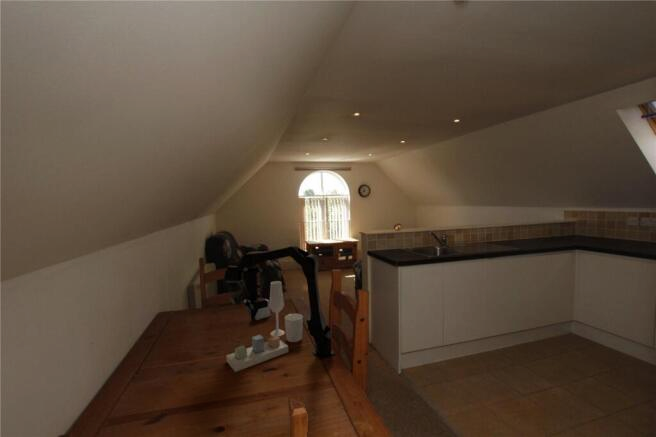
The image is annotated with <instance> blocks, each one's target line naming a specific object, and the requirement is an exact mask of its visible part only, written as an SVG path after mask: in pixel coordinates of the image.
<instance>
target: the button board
mask: <svg viewBox="0 0 656 437" xmlns="http://www.w3.org/2000/svg"><path fill="white" fill-rule="evenodd" d="M246 349H247V357H246V358H243V359H241V360H237V359H236V358H235V352H233V353H229V354H226V362H227V364H228V365H229V367H231V369H232V370H233V371H234V373H236V372H239V371H242V370H245V369H246V368H250V367H252V366H255V365H257V364H260V363H263V362H265V361H268V360H271V359H273V358H277V357H278V356H282V355H284V354H286V353H289V345H288V344H286V343H285V342H284V341H282V340H281V339H280V346H277V347H274V348H271V347H270V346H269V345H268V341H266V342H265V341H264V350H263V351H260V352H257V353H256V352H254V351H253V350H252V346H251V347H247V348H246Z"/></svg>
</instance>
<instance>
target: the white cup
mask: <svg viewBox="0 0 656 437" xmlns="http://www.w3.org/2000/svg"><path fill="white" fill-rule="evenodd" d="M303 318H304V317H303V315H302V314H300V313H288V314H287V315H284V323H285V324H284V325H285V327H284V328H285V335H286V341H287V342H290V343H297V342H299V341H301V340H302V339H303Z"/></svg>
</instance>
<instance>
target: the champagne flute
mask: <svg viewBox="0 0 656 437" xmlns="http://www.w3.org/2000/svg"><path fill="white" fill-rule="evenodd" d="M269 290H270V291H269V292H270V293H269V301H270V304H269V307H270V311H272V312H273V313H274V314H275V329H274V330H273V331H271V332H270V336H274V335H276V336H278V337H281V336H283V335H285V334H286V331H284V330H282V329H280V328H279V313H281V311H282V310H283V309H284V307H285V302H284V295H283V286H282V281H280V280H275V281H271V282H270V289H269Z"/></svg>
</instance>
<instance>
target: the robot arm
mask: <svg viewBox="0 0 656 437" xmlns="http://www.w3.org/2000/svg"><path fill="white" fill-rule="evenodd" d="M287 257H290V258H292V259H293V260H294V262H295V263H297V264H298V265H300V266H301V270H302V273H303V275H304V277H305V279H306V285H307V292H308V301H309V311H310V315H309V316H308V318H307V319H306V324H307V330H306V331H307V332H308V331H309V335H310V336H311V337H312V338H313V342H314V344H315V347H314V348H315V350H313V351H312V354H313V355H314V356H316V357H317V358H319V359H320V360H324V359H326V358H328V357H331V356H333V355H335V352H334V351H332V340H331V333H332V328H331V327H330V326H329V325H328V324H327V322H326V319H325V315H324V313H323V312H322V307H321V306H322V305H321V298H320V289H319V282H318V274H319V268H320V267H319V263H320V262H319V261H320V259H319V257H318V256H317V255H316V254H314V253H309V252H308V251H306V250H304V249H302V248H300V247H298V246H297V245H295V244H292V245H290V246H286V247H285V246H284V247H281V248H277V249H272V250H271V249H270V250H267V251H263V250H262V251H258V250H255V251H249V252H247V253H245V254H243V255H242V256H241V257H240V262H239V264H238V265H228V266H227V267H226V270H225V273H224V281H225V282H226V283H241V282H242V281H243V284H242V286H241V289H240V290H237V291H236V292H233V293H232V294H230V296H229V299H230V300H231V303H232V304H233V305H234V306H239V305H240V304H242V305H243V306H244V307H246V309H247V312H248V315H249V319H250V321H254V320H255V316H256V314H257V312H258V309H261V308H265V307H268V301H267V300H268V299H267V300H265V299H266V298H264V297H261V294H260V293H259V288H261V285H260V284H259V274H260V273H261V272H263V268H262V267H261V266H260V264H261V263H264V262H268V261H274V260H278V259H282V258H287ZM254 266H255V267H254Z"/></svg>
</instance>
